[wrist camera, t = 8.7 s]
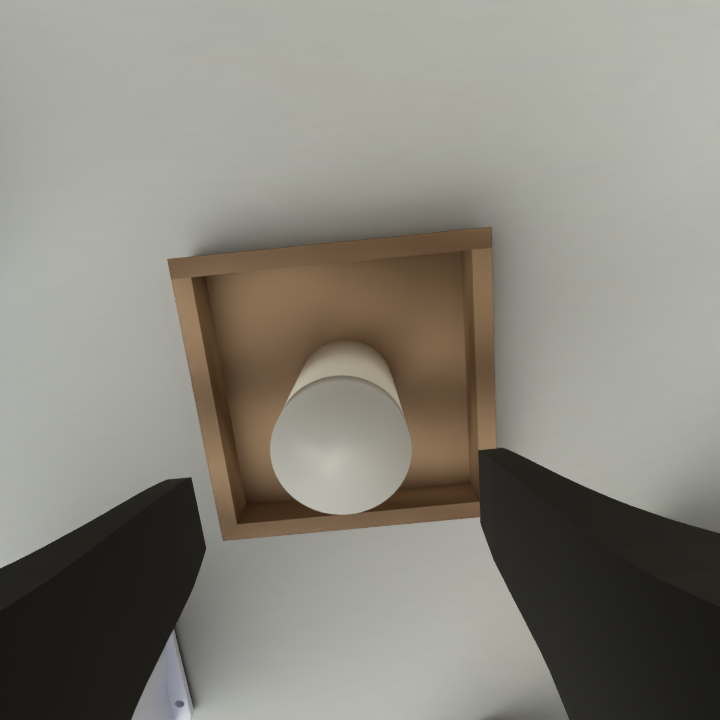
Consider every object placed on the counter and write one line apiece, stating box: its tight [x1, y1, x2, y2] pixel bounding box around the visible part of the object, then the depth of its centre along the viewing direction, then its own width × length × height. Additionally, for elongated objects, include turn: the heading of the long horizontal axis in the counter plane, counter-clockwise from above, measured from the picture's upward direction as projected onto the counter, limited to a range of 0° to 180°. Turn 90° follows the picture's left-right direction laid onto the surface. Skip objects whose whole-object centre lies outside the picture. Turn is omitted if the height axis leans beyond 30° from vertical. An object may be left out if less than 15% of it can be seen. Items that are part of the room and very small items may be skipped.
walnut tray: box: [167, 227, 496, 541], centre depth 19 cm, size 13×13×2 cm
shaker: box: [270, 339, 412, 515], centre depth 16 cm, size 4×4×7 cm
